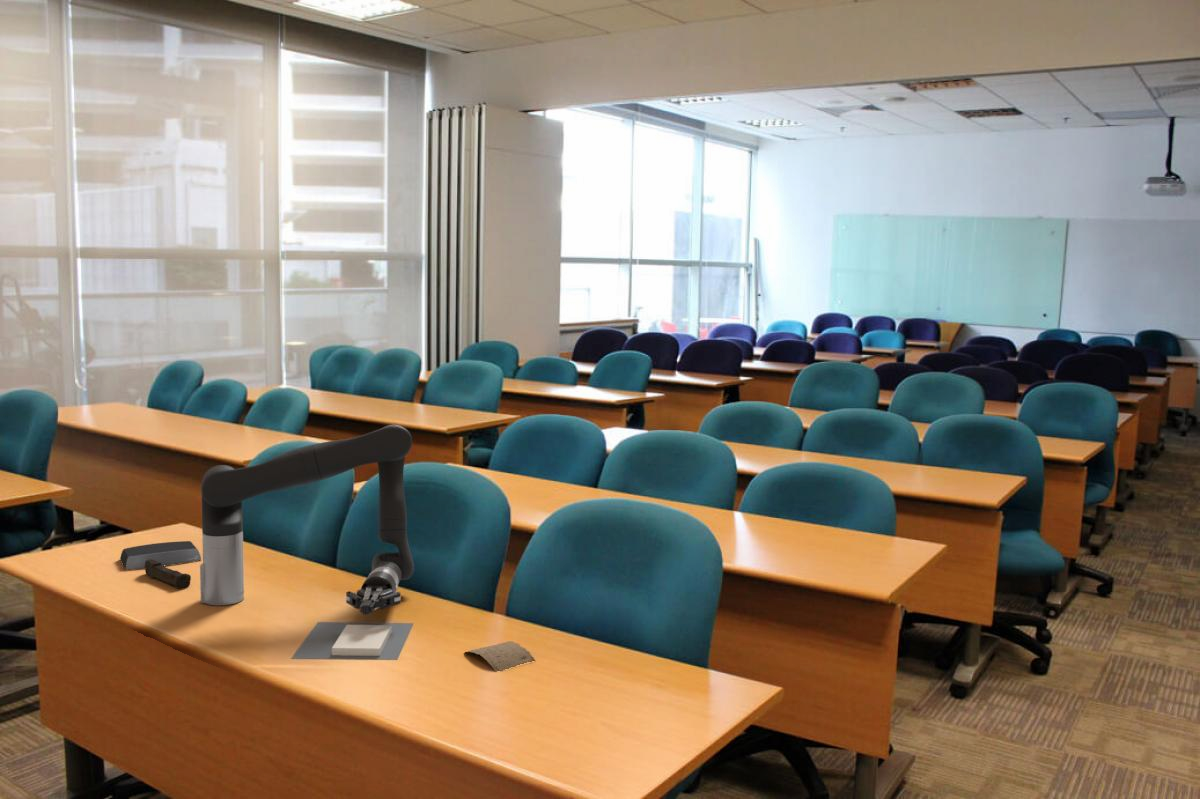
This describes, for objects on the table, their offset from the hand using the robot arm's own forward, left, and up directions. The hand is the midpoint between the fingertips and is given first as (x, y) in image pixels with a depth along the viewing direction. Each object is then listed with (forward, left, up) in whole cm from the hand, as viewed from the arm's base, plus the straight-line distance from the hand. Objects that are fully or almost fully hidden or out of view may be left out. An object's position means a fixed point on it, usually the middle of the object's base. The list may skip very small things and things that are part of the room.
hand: (365, 610), depth 210 cm
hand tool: (-61, +41, -8) cm, 73 cm away
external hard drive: (-69, +60, -8) cm, 92 cm away
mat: (-2, -1, -7) cm, 7 cm away
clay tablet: (+30, -9, -8) cm, 32 cm away
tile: (0, +4, -6) cm, 7 cm away
